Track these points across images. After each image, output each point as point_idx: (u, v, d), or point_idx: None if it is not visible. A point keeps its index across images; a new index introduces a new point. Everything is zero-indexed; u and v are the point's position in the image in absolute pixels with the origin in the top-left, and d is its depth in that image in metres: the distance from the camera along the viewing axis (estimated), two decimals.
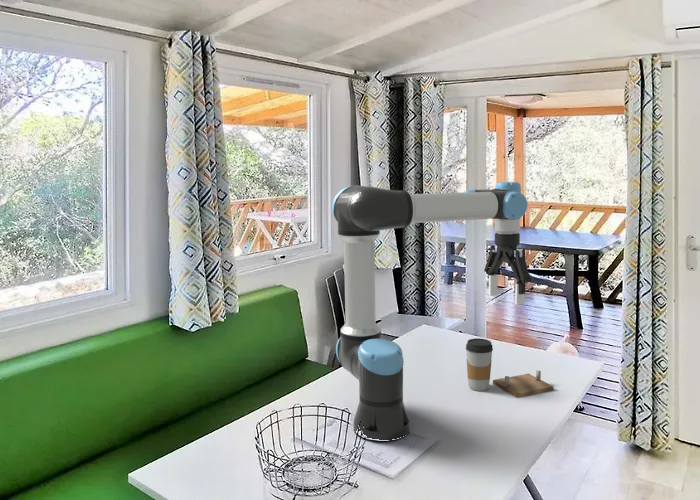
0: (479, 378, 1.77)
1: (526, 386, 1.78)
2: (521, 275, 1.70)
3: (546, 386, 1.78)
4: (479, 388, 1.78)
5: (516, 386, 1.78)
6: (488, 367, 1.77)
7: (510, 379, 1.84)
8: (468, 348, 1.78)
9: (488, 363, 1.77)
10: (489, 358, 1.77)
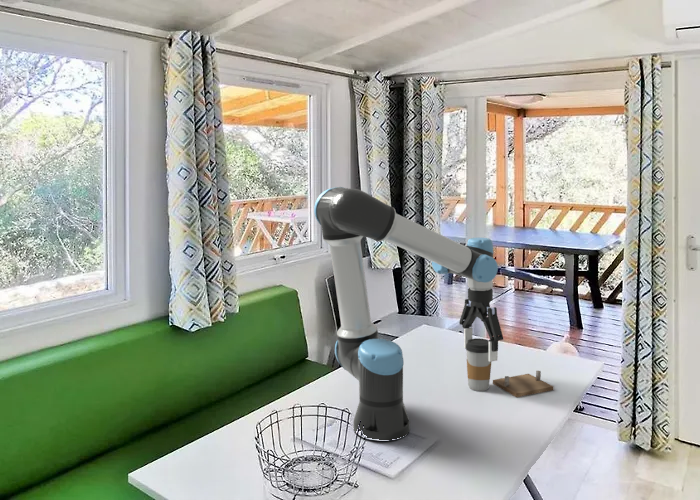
0: (479, 378, 1.77)
1: (526, 386, 1.78)
2: (493, 333, 1.70)
3: (546, 386, 1.78)
4: (479, 388, 1.78)
5: (516, 386, 1.78)
6: (488, 367, 1.77)
7: (510, 379, 1.84)
8: (468, 348, 1.78)
9: (488, 363, 1.77)
10: None
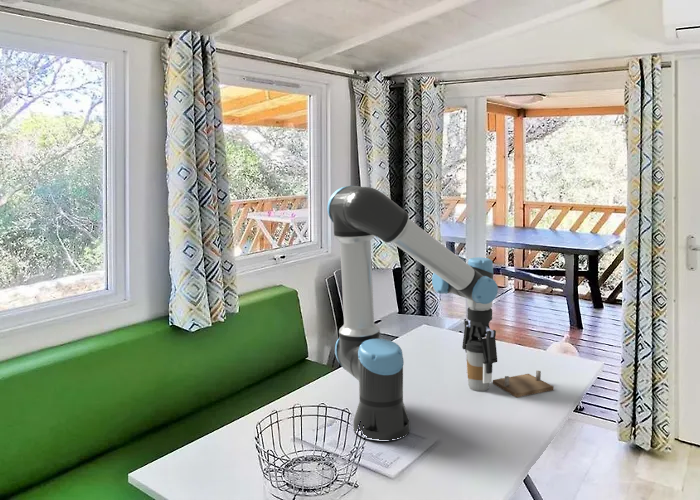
0: (479, 378, 1.77)
1: (526, 386, 1.78)
2: (489, 356, 1.72)
3: (546, 386, 1.78)
4: (479, 388, 1.78)
5: (516, 386, 1.78)
6: None
7: (510, 379, 1.84)
8: (468, 348, 1.78)
9: None
10: None
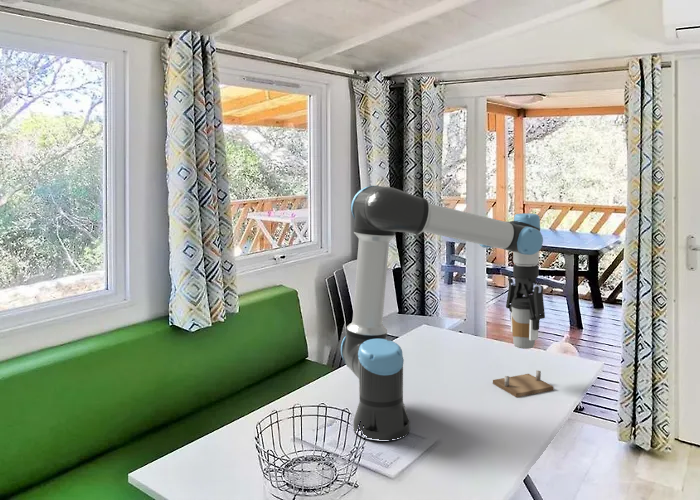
0: (525, 335, 1.75)
1: (526, 386, 1.78)
2: (536, 311, 1.70)
3: (546, 386, 1.78)
4: (525, 345, 1.76)
5: (516, 386, 1.78)
6: None
7: (510, 379, 1.84)
8: (514, 305, 1.76)
9: None
10: (535, 315, 1.75)
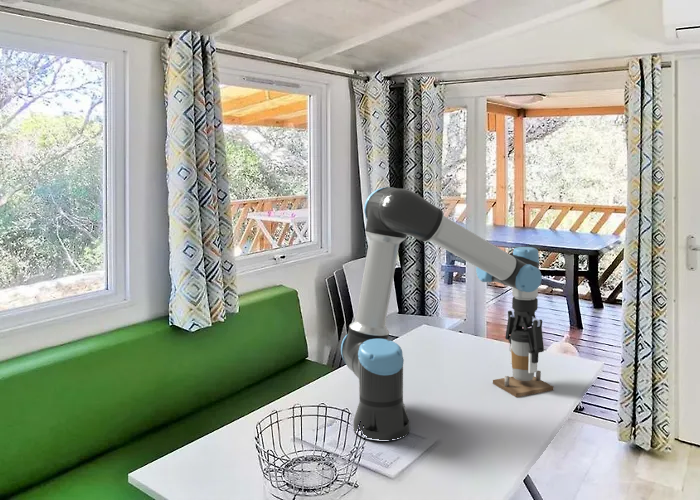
0: (525, 368, 1.77)
1: (526, 386, 1.78)
2: (535, 345, 1.72)
3: (546, 386, 1.78)
4: (524, 378, 1.77)
5: (516, 386, 1.78)
6: None
7: (510, 379, 1.84)
8: (513, 338, 1.77)
9: None
10: None
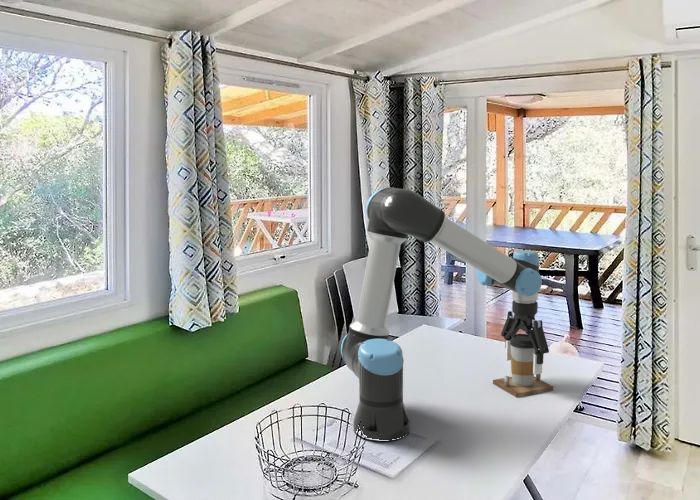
0: (524, 373, 1.77)
1: None
2: (539, 346, 1.70)
3: (546, 386, 1.78)
4: (524, 383, 1.78)
5: (516, 386, 1.78)
6: None
7: (510, 379, 1.84)
8: (513, 343, 1.77)
9: (533, 358, 1.77)
10: None
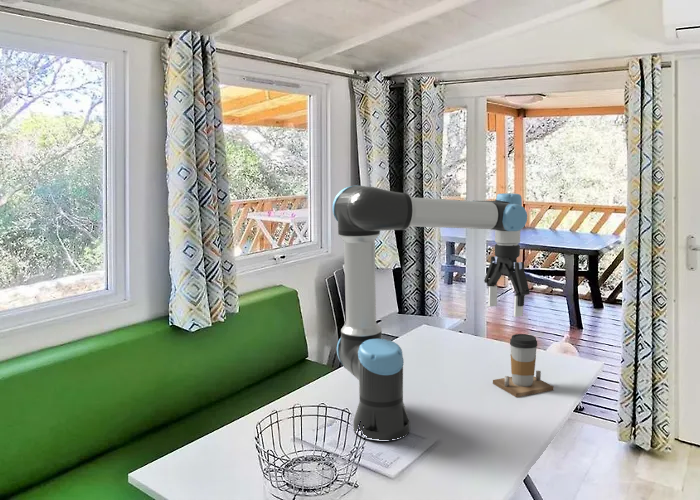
0: (524, 373, 1.77)
1: None
2: (520, 287, 1.69)
3: (546, 386, 1.78)
4: (524, 383, 1.78)
5: (516, 386, 1.78)
6: (533, 362, 1.77)
7: (510, 379, 1.84)
8: (513, 343, 1.77)
9: (533, 358, 1.77)
10: (534, 353, 1.77)
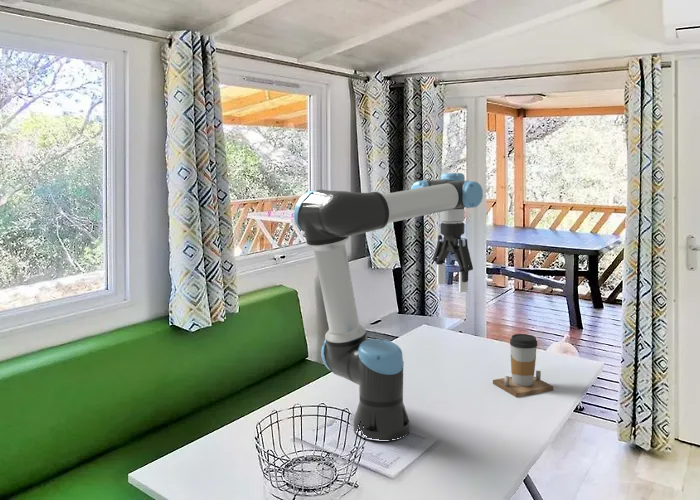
0: (524, 373, 1.77)
1: None
2: (464, 263, 1.74)
3: (546, 386, 1.78)
4: (524, 383, 1.78)
5: (516, 386, 1.78)
6: (533, 362, 1.77)
7: (510, 379, 1.84)
8: (513, 343, 1.77)
9: (533, 358, 1.77)
10: (534, 353, 1.77)
